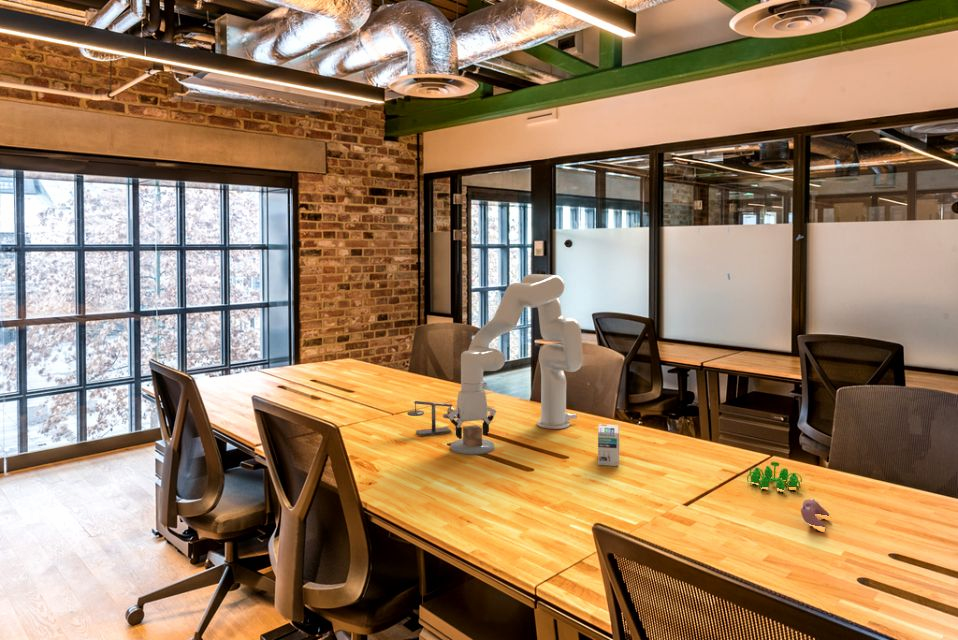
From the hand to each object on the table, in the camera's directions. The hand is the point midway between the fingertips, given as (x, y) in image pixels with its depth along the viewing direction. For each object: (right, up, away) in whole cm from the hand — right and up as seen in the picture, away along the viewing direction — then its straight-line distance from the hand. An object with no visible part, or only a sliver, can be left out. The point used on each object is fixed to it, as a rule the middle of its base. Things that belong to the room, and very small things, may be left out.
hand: (472, 436), depth 230 cm
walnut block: (0, -3, 0) cm, 3 cm away
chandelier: (+87, -8, -36) cm, 95 cm away
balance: (-15, -2, +19) cm, 24 cm away
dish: (0, -4, 0) cm, 4 cm away
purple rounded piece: (+86, -11, -63) cm, 107 cm away
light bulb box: (+44, -6, -13) cm, 46 cm away
